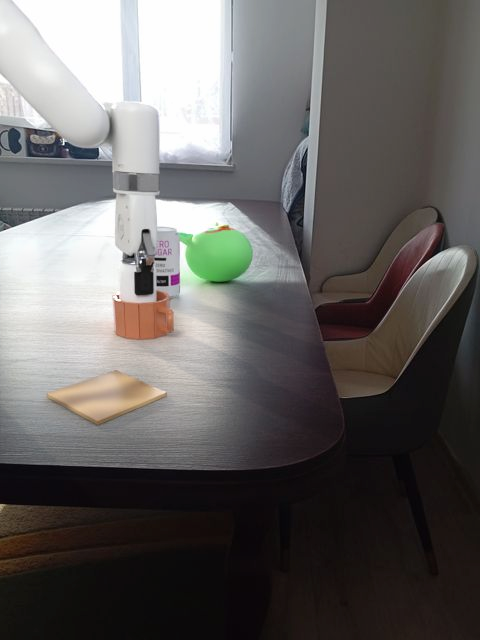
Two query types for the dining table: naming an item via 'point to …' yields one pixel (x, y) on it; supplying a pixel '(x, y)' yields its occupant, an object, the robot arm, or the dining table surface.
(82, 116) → the robot arm
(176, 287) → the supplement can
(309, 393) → the dining table surface
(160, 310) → the mug
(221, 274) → the green teapot
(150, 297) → the can
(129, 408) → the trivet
